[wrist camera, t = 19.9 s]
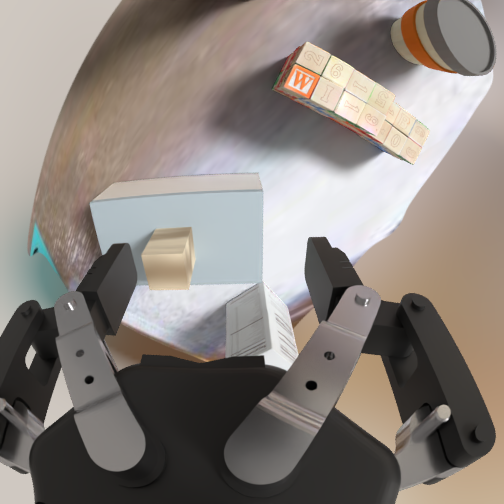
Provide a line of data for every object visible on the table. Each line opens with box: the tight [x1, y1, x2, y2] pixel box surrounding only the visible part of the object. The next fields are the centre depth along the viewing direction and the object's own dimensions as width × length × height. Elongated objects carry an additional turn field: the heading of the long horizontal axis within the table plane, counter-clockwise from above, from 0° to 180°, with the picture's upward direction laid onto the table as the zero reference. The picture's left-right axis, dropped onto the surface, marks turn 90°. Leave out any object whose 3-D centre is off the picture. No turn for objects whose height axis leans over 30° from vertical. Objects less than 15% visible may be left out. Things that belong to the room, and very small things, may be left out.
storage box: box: [94, 173, 262, 200], centre depth 42 cm, size 14×24×8 cm, turn 90°
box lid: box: [90, 189, 263, 285], centre depth 38 cm, size 14×24×1 cm, turn 90°
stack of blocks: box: [272, 42, 430, 165], centre depth 32 cm, size 21×6×12 cm, turn 66°
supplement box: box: [226, 281, 298, 371], centre depth 49 cm, size 10×9×17 cm
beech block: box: [141, 227, 196, 290], centre depth 35 cm, size 5×5×7 cm
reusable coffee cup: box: [391, 0, 496, 76], centre depth 23 cm, size 12×12×15 cm
